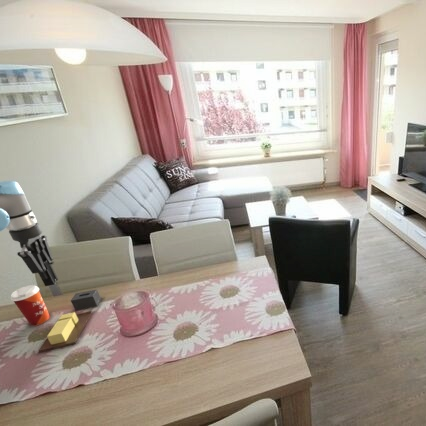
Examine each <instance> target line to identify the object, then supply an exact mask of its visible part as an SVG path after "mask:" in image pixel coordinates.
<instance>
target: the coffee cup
mask: <svg viewBox="0 0 426 426" xmlns="http://www.w3.org/2000/svg"><path fill="white" fill-rule="evenodd" d="M10 294H11V295H10V301H12V302H13V303H14V305H15V306H16V307H17V308H18V309H19V311H20V312H21V314H22V315H23V317H24V318H25V319H26V321H27V322H28V323H29V325H30V326H32V327H35V326H36V327H37V326H38V325H41V324H44V323H45V322H47V321H48V320H49V319H50V317H51V315H50V313H49V311H48V309H47V306H46V304H45V302H44V299H43V297H42V295H41V292H40V288H39V287H38V286H36V285H35V284H31V285H26V286H21V287H20V288H18V289H16V290H14V291H13V292H12V293H10Z"/></svg>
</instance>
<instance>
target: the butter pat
mask: <svg viewBox="0 0 426 426" xmlns="http://www.w3.org/2000/svg"><path fill="white" fill-rule="evenodd" d="M76 314H77V313H76V312H75V311H73V312H69V313H65V314H61V315H60V316H59V318H58V321H61V320H65V319H70V318H71V319H72V321H73V323H74V324H76V323H77V322H78V318H77V316H76Z"/></svg>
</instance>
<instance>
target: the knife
mask: <svg viewBox="0 0 426 426" xmlns="http://www.w3.org/2000/svg"><path fill="white" fill-rule="evenodd" d="M43 263H44V266H45V268H46V269H48V270H49V272H50V274H51V276H52V278H53V280H54V282H55V284H54V285H50V286H48V288H49V290H50V291H51V294H52V296H53V297H59V296H63V295H64V294H63V291H62V290H61V288H60V286H59V283H58V281H56V278H55V276H54V274H53V272H52V270H51V268H50V266H49V264H48V262H47V260H46V261H43Z"/></svg>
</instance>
